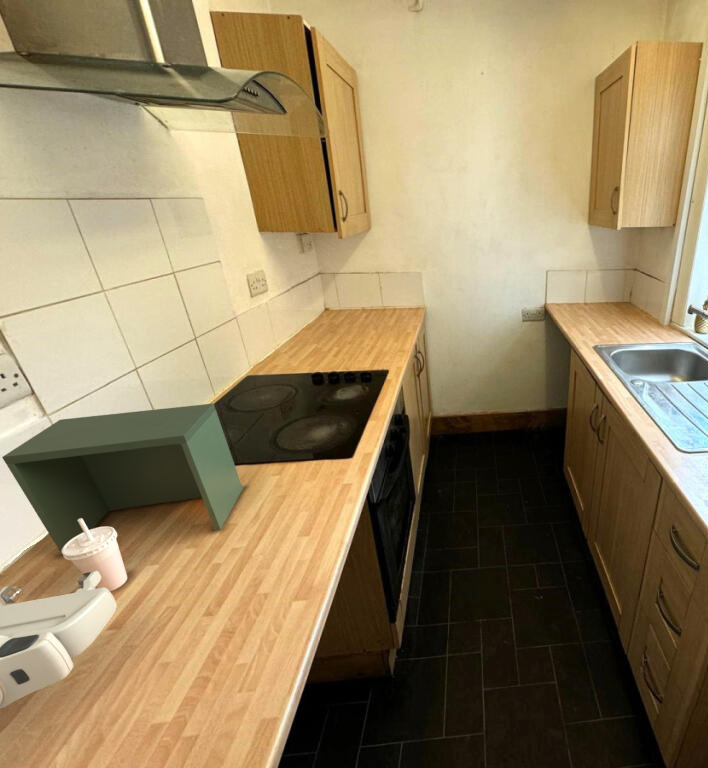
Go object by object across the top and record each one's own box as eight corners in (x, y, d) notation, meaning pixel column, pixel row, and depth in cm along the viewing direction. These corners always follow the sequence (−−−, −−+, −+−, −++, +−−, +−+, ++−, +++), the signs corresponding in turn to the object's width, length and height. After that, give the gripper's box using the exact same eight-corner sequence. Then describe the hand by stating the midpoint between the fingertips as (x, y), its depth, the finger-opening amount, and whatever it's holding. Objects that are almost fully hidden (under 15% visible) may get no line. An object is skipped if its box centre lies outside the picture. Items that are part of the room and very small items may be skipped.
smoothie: (109, 602, 67) (70, 536, 61) (76, 597, 68) (35, 531, 62) (147, 570, 73) (115, 507, 67) (116, 565, 74) (82, 503, 68)
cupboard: (62, 555, 76) (1, 457, 67) (106, 508, 88) (60, 419, 79) (220, 529, 82) (184, 435, 73) (242, 488, 93) (213, 403, 84)
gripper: (-134, 721, 47) (-23, 612, 59) (82, 674, 51) (144, 582, 63) (-173, 686, 44) (-48, 580, 56) (58, 640, 48) (128, 551, 61)
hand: (55, 581), depth 60 cm, fingers open, 8 cm apart
